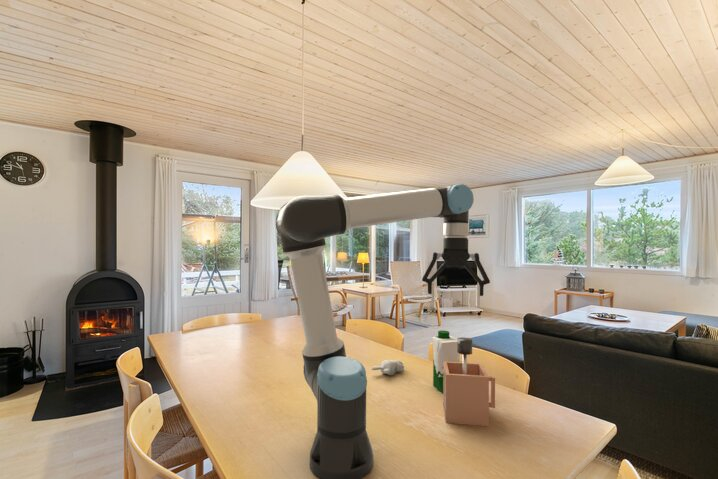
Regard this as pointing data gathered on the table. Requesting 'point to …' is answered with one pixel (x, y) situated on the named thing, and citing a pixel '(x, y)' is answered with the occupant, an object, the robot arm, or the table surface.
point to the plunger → (464, 350)
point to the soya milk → (443, 356)
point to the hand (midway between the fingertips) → (454, 305)
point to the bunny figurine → (390, 367)
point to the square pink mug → (467, 393)
